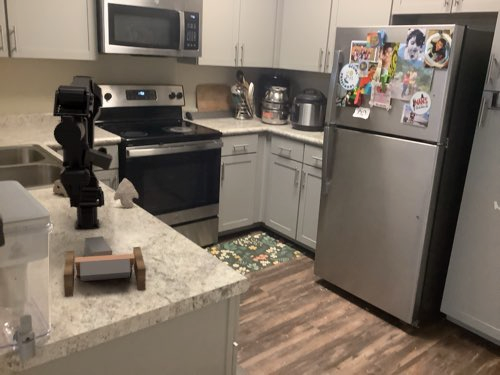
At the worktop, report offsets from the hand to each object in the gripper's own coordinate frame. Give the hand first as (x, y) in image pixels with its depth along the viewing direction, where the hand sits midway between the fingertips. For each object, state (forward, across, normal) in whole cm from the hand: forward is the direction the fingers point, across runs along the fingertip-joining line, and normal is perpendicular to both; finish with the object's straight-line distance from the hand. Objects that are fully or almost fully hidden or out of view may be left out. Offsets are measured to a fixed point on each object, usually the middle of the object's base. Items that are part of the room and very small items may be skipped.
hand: (77, 201), depth 115 cm
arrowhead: (+13, +33, -14) cm, 38 cm away
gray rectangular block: (+10, -14, -6) cm, 18 cm away
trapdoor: (+12, -21, -6) cm, 24 cm away
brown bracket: (+13, -19, -6) cm, 24 cm away
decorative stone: (+13, +51, +2) cm, 53 cm away
